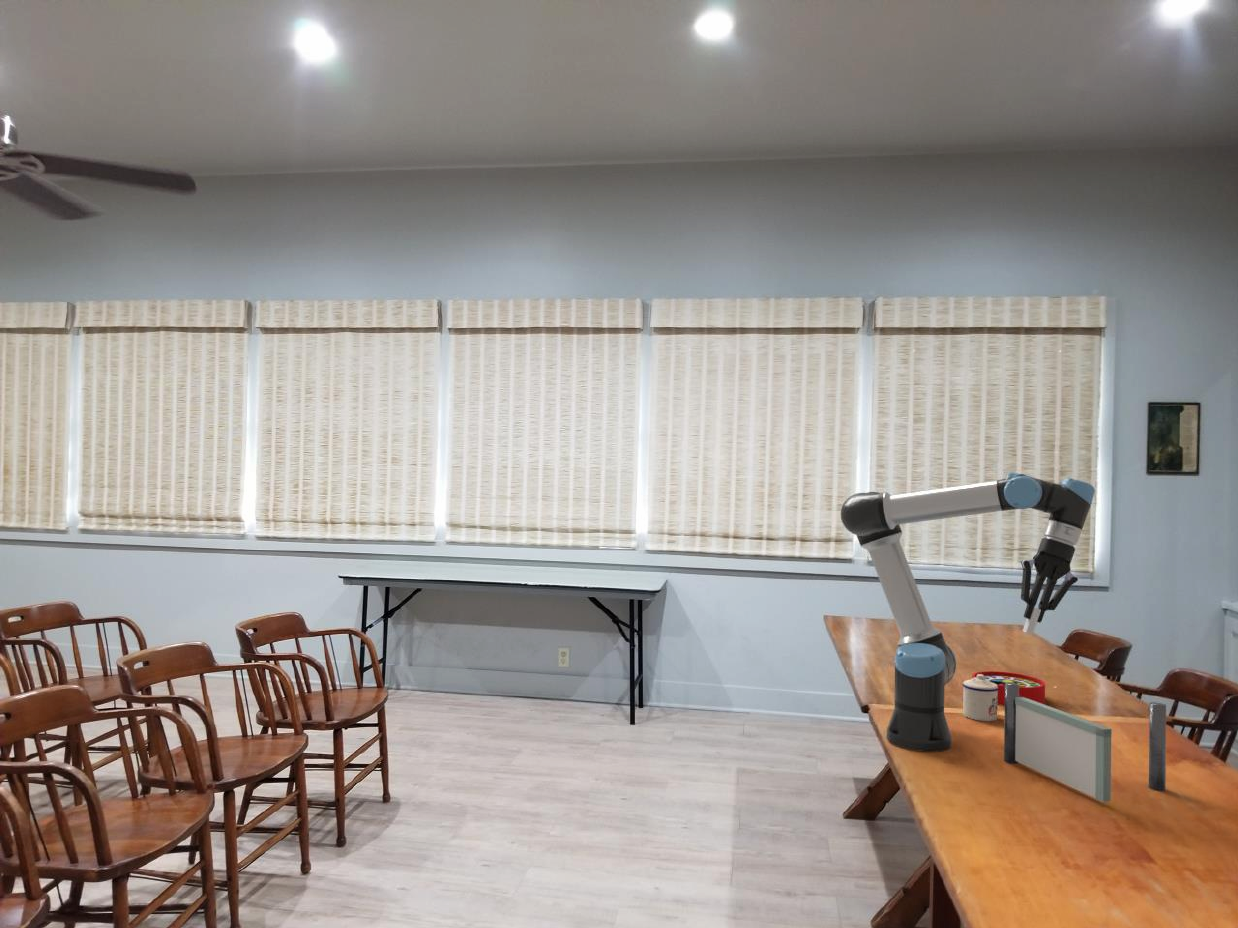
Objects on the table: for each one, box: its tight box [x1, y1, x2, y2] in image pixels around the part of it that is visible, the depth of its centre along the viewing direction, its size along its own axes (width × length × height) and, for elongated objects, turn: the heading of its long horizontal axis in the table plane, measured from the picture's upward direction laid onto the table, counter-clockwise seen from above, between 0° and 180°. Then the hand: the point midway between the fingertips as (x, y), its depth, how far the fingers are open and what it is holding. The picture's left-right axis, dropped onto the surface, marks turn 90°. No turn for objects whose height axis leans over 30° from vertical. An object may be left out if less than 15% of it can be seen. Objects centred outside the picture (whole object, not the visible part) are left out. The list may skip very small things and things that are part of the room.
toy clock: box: [971, 670, 1046, 706], centre depth 243 cm, size 20×6×20 cm
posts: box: [1003, 682, 1167, 792], centre depth 179 cm, size 31×3×18 cm, turn 59°
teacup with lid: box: [962, 674, 999, 722], centre depth 223 cm, size 12×9×12 cm
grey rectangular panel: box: [1015, 697, 1112, 803], centre depth 173 cm, size 24×2×15 cm, turn 15°
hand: (1027, 632), depth 195 cm, fingers closed
